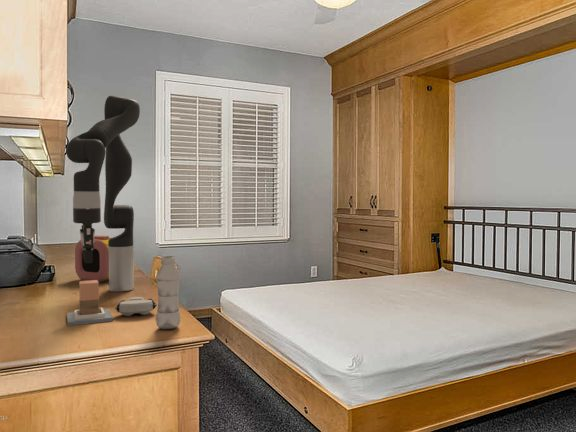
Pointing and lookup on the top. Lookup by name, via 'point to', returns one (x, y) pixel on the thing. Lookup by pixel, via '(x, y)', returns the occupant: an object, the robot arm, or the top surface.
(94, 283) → the terracotta cube
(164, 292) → the plastic bottle
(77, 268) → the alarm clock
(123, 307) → the robot toy
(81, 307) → the walnut cube
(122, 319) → the top surface
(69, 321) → the baseplate
